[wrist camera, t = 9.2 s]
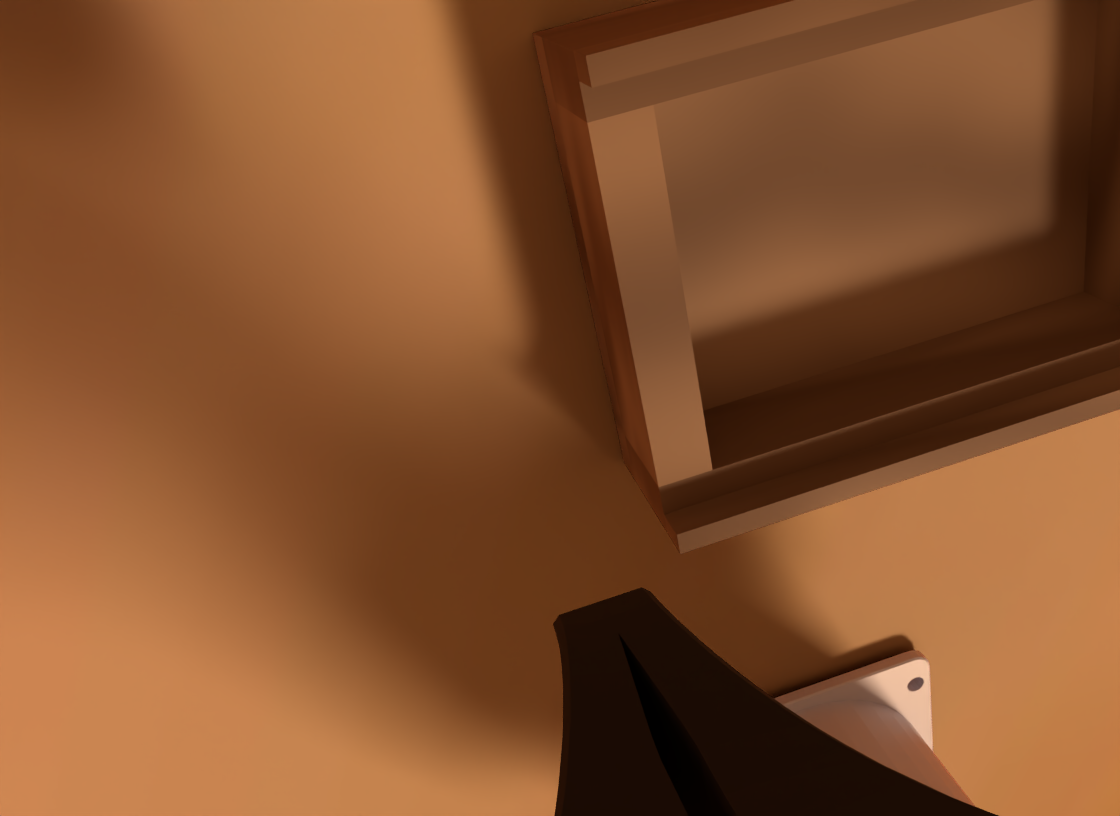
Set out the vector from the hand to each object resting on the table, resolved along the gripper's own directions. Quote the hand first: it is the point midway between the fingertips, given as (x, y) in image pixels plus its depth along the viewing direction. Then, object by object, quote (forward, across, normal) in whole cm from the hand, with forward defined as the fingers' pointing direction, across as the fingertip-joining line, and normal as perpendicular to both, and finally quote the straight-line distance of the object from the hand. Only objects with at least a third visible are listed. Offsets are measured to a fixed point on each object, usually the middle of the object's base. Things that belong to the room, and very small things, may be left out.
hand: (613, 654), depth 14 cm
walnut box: (+9, -9, -2) cm, 13 cm away
